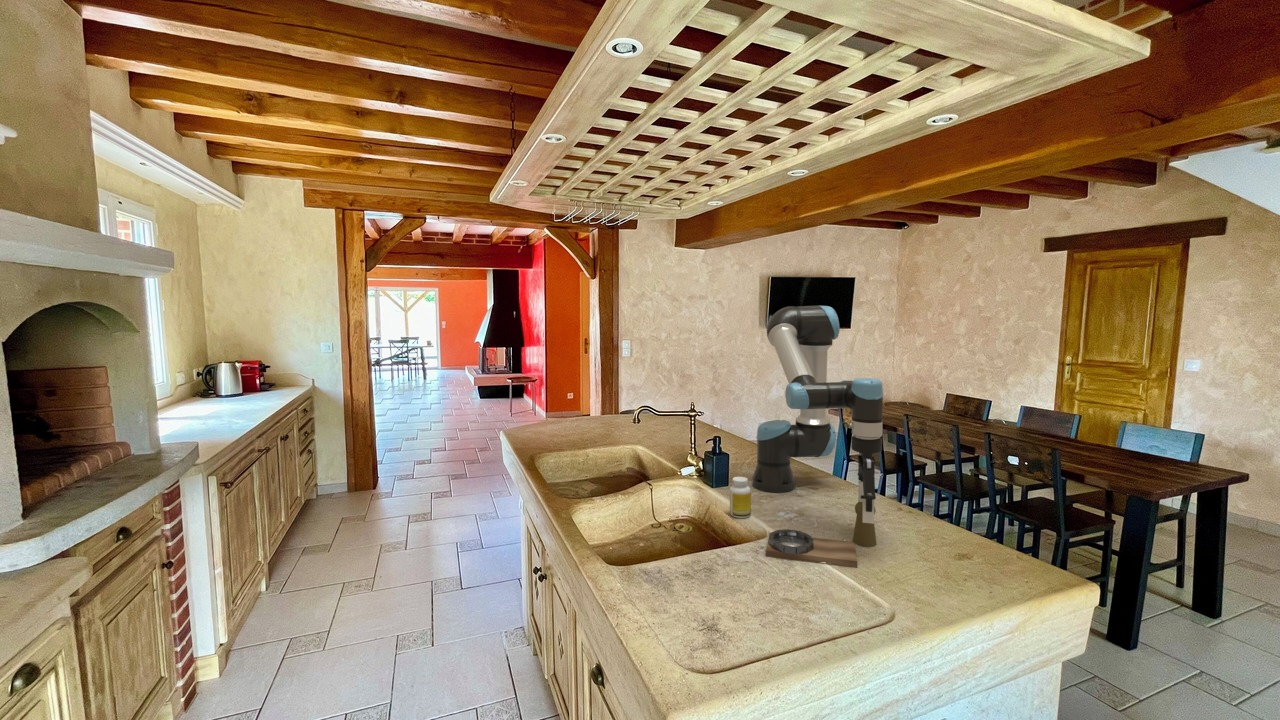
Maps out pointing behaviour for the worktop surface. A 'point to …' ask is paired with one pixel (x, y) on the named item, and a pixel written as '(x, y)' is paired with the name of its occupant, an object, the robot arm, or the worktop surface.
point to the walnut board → (823, 553)
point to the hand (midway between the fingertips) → (865, 513)
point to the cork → (863, 529)
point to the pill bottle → (740, 498)
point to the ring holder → (791, 541)
